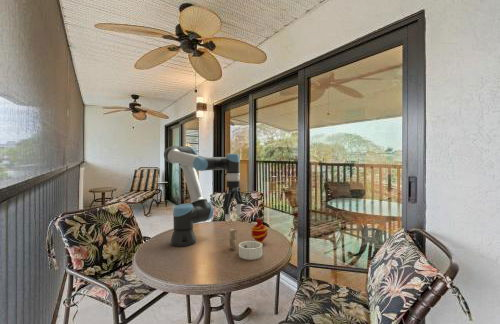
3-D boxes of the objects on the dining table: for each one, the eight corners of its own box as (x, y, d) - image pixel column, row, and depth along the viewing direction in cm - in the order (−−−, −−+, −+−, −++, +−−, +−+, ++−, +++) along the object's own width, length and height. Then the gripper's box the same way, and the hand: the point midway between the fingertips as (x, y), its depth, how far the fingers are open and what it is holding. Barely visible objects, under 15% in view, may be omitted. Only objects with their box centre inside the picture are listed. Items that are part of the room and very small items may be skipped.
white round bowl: (234, 257, 134) (234, 246, 134) (244, 249, 145) (244, 239, 145) (256, 261, 129) (256, 250, 129) (265, 252, 140) (265, 242, 140)
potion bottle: (266, 245, 151) (266, 220, 151) (249, 244, 154) (249, 220, 153) (268, 240, 162) (268, 216, 161) (252, 239, 164) (252, 216, 164)
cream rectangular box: (229, 248, 147) (229, 229, 147) (231, 247, 149) (231, 228, 148) (235, 249, 145) (235, 230, 145) (236, 248, 147) (236, 229, 147)
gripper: (228, 182, 133) (228, 222, 134) (247, 179, 156) (248, 213, 157) (216, 182, 136) (216, 221, 137) (236, 178, 159) (237, 212, 160)
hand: (233, 217), depth 147 cm, fingers open, 13 cm apart
